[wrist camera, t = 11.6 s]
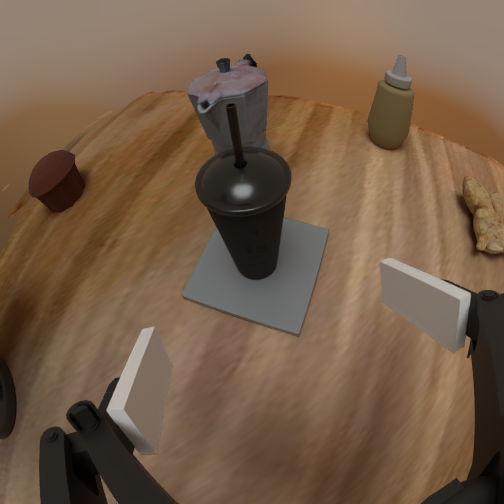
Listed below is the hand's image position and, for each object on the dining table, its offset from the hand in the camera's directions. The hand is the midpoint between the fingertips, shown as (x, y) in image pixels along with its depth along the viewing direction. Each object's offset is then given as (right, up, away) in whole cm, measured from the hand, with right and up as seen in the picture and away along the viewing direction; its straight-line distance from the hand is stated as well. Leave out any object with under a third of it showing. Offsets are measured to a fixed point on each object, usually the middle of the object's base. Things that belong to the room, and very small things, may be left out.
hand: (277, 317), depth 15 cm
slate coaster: (0, +2, +19) cm, 19 cm away
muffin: (-39, +15, +32) cm, 52 cm away
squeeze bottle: (+24, +24, +31) cm, 46 cm away
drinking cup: (-1, +2, +18) cm, 19 cm away
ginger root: (+37, +7, +19) cm, 42 cm away
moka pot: (-2, +15, +28) cm, 32 cm away
